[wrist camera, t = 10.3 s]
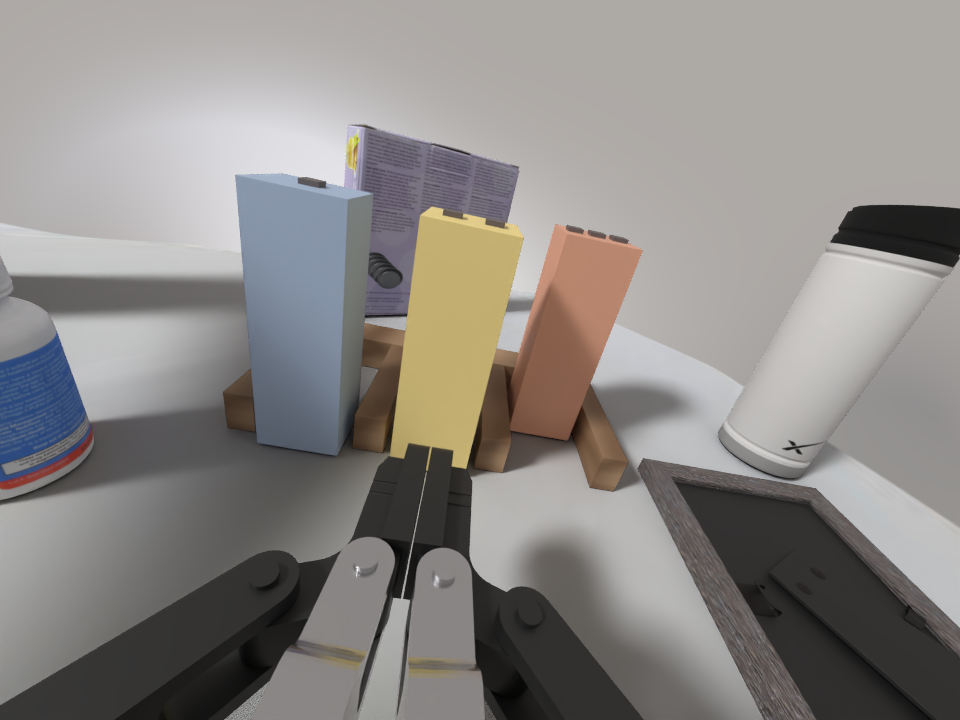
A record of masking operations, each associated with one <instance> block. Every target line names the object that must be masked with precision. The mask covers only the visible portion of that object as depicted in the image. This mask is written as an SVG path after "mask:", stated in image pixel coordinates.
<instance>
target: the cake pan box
mask: <svg viewBox="0 0 960 720" xmlns="http://www.w3.org/2000/svg"><path fill="white" fill-rule="evenodd" d="M518 169H519V167H518V166H515V165H511V164H508V163H504V162H501V161H497V160H493V159H490V158H486V157H483V156H479V155H475V154H472V153H469V152H466V151H463V150H460V149H456V148H452V147H448V146H445V145H441V144H436V143H432V142H427V141H423V140H419V139H415V138H411V137H407V136H404V135H400V134H397V133H393V132H389V131H385V130H381V129H377V128H374V127H372V126H369V125H365V124H351V125H348V127H347V147H346V167H345V183H344V187H346V188H350V189H355V190H359V191H364V192H368V193H373V207H372V221H371V235H370V250H369V264H368V278H367V292H366V306H365V315H394V314H408V307H409V299H410V291H411V283H412V275H413V267H414V259H415V251H416V243H417V235H418V227H419V219H420V215H421V214H422V213H424V212H425V211H427V210H428V209H429V208H431V207H436V208H441V209H445V208H448V209H453V210H457V211H462V212H464V214H468V215H472V216H477V217H481V218H486V217H489V218H493V219H498V220H502V221H505V223H507V220H508V216H509V212H510V208H511V203H512V199H513V195H514V191H515V187H516V182H517V178H518V174H519V170H518Z"/></svg>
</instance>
